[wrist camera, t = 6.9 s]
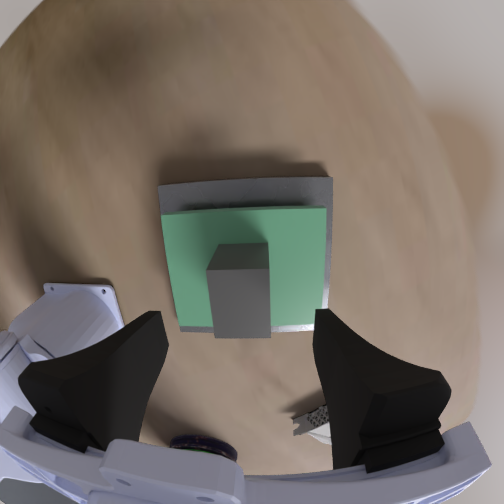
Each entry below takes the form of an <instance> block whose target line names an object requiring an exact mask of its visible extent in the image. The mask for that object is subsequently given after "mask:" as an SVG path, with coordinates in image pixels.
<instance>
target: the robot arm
mask: <svg viewBox="0 0 504 504" xmlns="http://www.w3.org/2000/svg"><path fill="white" fill-rule="evenodd" d="M43 287H44V291H45V294H44V295H43V296H42V297H40V298H39V299H38V300H37V301H35V302H34V303H33V304H32V305H30V306H29V307H28V308H27V309H25V310H24V311H23V312H22V313H21V314H20V315H18V316H17V317H16V318H15V319H14V320H13V321H12V323H11V324H10V326H9V329H8V331H5V330H4V331H2V332H0V482H1V481H2V479H3V478H11V479H16V480H21V481H27V482H34V483H44V484H46V485H48V486H49V487H51V488H53V489H54V490H56V491H58V492H59V493H61V494H63V495H65V496H66V497H68V498H70V499H72V500H74V501H76V502H78V503H80V504H440V503H442V502H444V501H446V500H448V499H450V498H452V497H454V496H455V495H458V494H459V493H461V492H462V491H463V490H464V489H466V488H467V487H468V486H470V485H471V484H472V483H473V482H474V481H476V480H477V479H478V478H479V477H480V476H481V475H483V474H484V473H485V472H486V471H487V470H488V469H489V468H490V467H491V465H492V464H491V462H490V460H489V457H488V455H487V454H486V451H485V449H484V447H483V445H482V444H481V442H480V440H479V438H478V436H477V434H476V432H475V430H474V429H473V427H472V425H471V423H470V422H466V423H463V424H461V425H459V426H457V427H454V428H452V429H449V430H448V431H446V432H444V433H443V434H442V435H441V434H440V432H439V430H438V429H440V427H441V423H440V421H439V419H438V418H439V416H440V415H441V413H442V412H443V410H444V408H445V407H446V405H447V403H448V401H449V399H450V397H451V388H450V386H449V384H448V383H447V381H446V380H445V378H444V376H443V375H442V374H441V372H440V371H437V370H432V369H428V368H424V367H420V366H417V365H414V364H411V363H408V362H405V361H403V360H400V359H398V358H396V357H394V356H391V355H389V354H387V353H385V352H384V351H382V350H380V349H378V348H377V347H375V346H373V345H372V344H370V343H369V342H367V341H366V340H364V339H363V338H362V337H360V336H359V335H358V334H357V333H355V332H354V331H353V330H352V329H350V328H349V327H348V326H347V325H346V324H345V323H344V322H343V321H341V320H340V319H339V318H338V317H337V316H336V315H335V314H334V313H333V312H332V311H331V310H330V309H329V308H326V309H315V321H314V333H313V352H314V359H315V364H316V368H317V371H318V375H319V378H320V382H321V385H322V389H323V393H324V396H325V400H326V405H327V410H328V418H329V425H330V434H331V444H332V457H333V470H329V471H321V472H312V473H302V474H287V475H244V473H243V470H242V469H241V467H240V466H239V465H238V464H237V463H236V462H234V461H233V460H230V459H228V458H225V457H223V456H221V455H215V454H210V453H205V452H197V451H189V450H181V449H174V448H168V447H162V446H156V445H151V444H146V443H141V442H138V441H139V435H140V430H141V426H142V421H143V417H144V413H145V409H146V406H147V402H148V400H149V397H150V394H151V392H152V390H153V387H154V385H155V383H156V380H157V378H158V376H159V374H160V371H161V369H162V367H163V364H164V362H165V358H166V355H167V351H168V347H169V343H168V340H167V336H166V332H165V328H164V324H163V319H162V315H161V311H148V312H146V313H144V314H143V315H141V316H139V317H138V318H136V319H135V320H133V321H132V322H130V323H129V324H127V325H126V326H124V323H123V320H122V316H121V313H120V310H119V306H118V303H117V299H116V295H115V292H114V289H113V287H112V286H110V285H92V284H63V283H45V284H44V286H43ZM53 288H54V289H53ZM103 289H104V290H105V291H106V292H105V291H104V290H103Z"/></svg>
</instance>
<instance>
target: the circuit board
mask: <svg viewBox="0 0 504 504" xmlns="http://www.w3.org/2000/svg"><path fill="white" fill-rule="evenodd" d="M161 222H162V230H163V237H164V244H165V251H166V257H167V263H168V269H169V275H170V281H171V287H172V292H173V297H174V303H175V308H176V313H177V317H178V322H179V326H206V327H213V328H214V335H215V338H271V326H287V325H308V324H314V321H315V309H322V301H323V287H324V270H325V248H326V208H325V207H324V206H323V205H316V206H271V207H244V208H223V209H206V210H190V211H176V212H166V213H164V214H162V215H161Z"/></svg>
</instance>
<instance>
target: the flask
mask: <svg viewBox="0 0 504 504" xmlns="http://www.w3.org/2000/svg"><path fill="white" fill-rule="evenodd" d="M0 500H1V501H2V502H4V503H5V504H80V503H78V502H76V501H74V500H72V499H70V498H68V497H66V496H65V495H63V494H61V493H59V492H58V491H56V490H54V489H53V488H51V487H49V486H48V485H46V484H44V483H34V482H27V481H21V480H16V479H11V478H3V479H2V481H1V482H0Z"/></svg>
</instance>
